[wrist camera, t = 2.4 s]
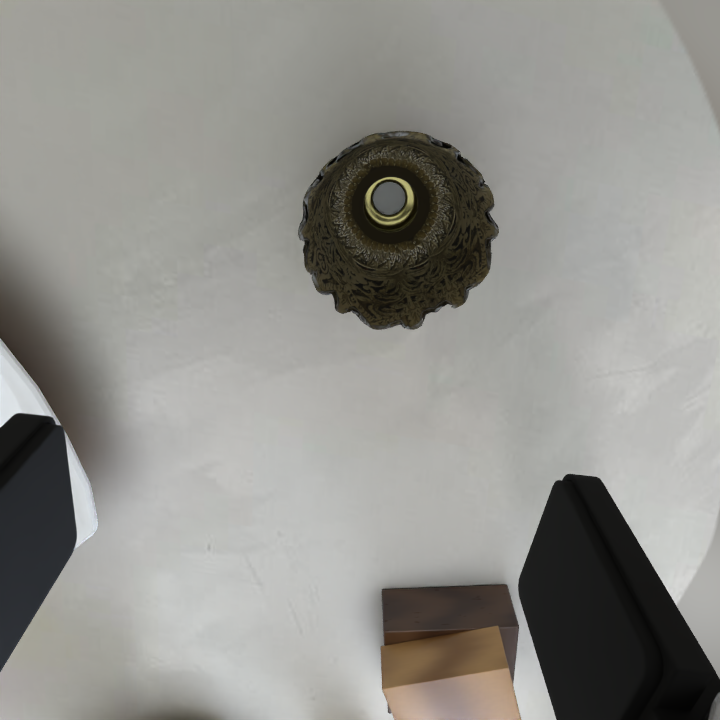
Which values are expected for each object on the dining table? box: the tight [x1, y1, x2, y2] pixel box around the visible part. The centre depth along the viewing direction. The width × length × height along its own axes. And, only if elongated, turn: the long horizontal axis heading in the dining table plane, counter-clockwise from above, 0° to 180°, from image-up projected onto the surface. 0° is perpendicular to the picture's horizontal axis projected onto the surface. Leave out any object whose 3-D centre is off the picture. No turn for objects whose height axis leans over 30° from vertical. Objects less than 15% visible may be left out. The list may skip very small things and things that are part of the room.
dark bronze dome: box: [298, 131, 499, 330], centre depth 24 cm, size 8×7×8 cm
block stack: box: [381, 585, 521, 720], centre depth 39 cm, size 10×10×6 cm
